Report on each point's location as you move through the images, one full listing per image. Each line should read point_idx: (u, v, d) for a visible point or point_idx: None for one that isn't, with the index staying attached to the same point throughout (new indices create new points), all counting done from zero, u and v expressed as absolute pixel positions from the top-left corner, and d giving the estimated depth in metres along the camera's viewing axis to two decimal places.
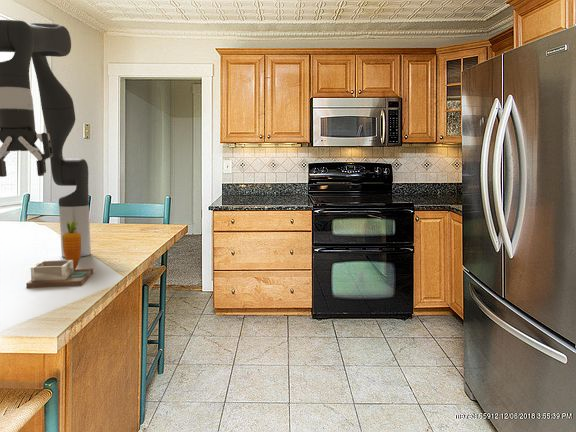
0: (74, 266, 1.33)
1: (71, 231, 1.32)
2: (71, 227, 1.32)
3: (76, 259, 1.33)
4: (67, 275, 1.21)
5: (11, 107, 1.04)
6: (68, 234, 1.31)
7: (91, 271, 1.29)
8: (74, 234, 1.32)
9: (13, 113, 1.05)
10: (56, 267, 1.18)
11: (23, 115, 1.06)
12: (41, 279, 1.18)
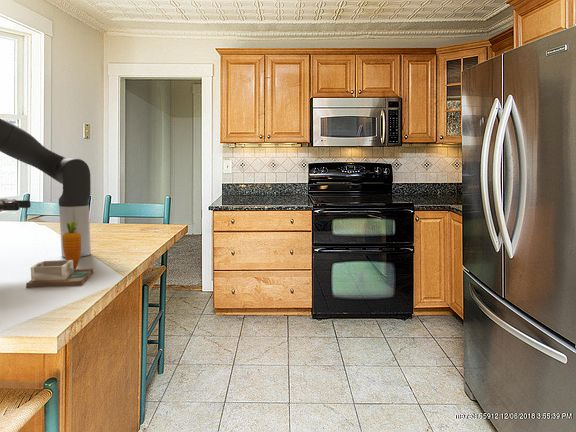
0: (74, 266, 1.33)
1: (71, 231, 1.32)
2: (71, 227, 1.32)
3: (76, 259, 1.33)
4: (67, 275, 1.21)
5: None
6: (68, 234, 1.31)
7: (91, 271, 1.29)
8: (74, 234, 1.32)
9: None
10: (56, 267, 1.18)
11: None
12: (41, 279, 1.18)
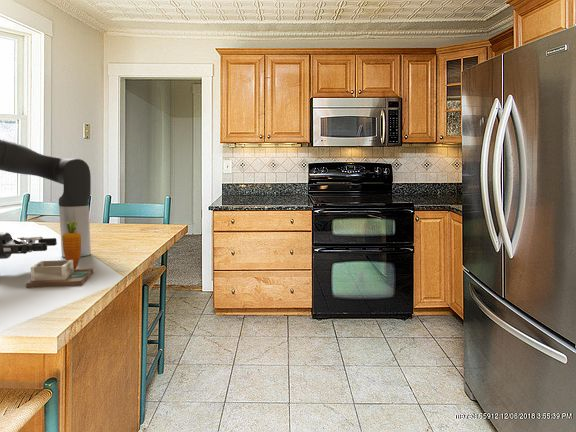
0: (74, 266, 1.33)
1: (71, 231, 1.32)
2: (71, 227, 1.32)
3: (76, 259, 1.33)
4: (67, 275, 1.21)
5: None
6: (68, 234, 1.31)
7: (91, 271, 1.29)
8: (74, 234, 1.32)
9: None
10: (56, 267, 1.18)
11: None
12: (41, 279, 1.18)
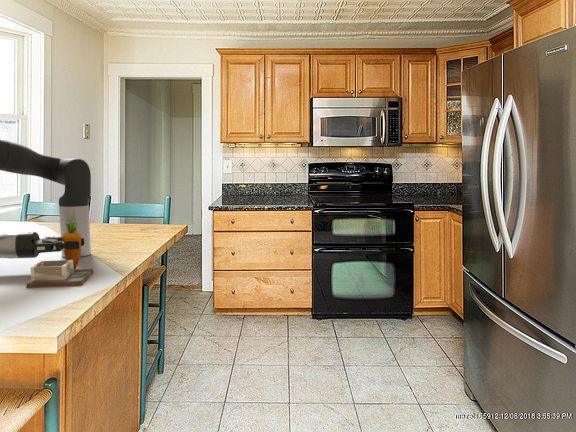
0: (74, 266, 1.33)
1: (71, 231, 1.32)
2: (71, 227, 1.32)
3: (76, 259, 1.33)
4: (67, 275, 1.21)
5: None
6: (68, 234, 1.31)
7: (91, 271, 1.29)
8: (74, 234, 1.32)
9: None
10: (56, 267, 1.18)
11: (23, 255, 1.29)
12: (41, 279, 1.18)
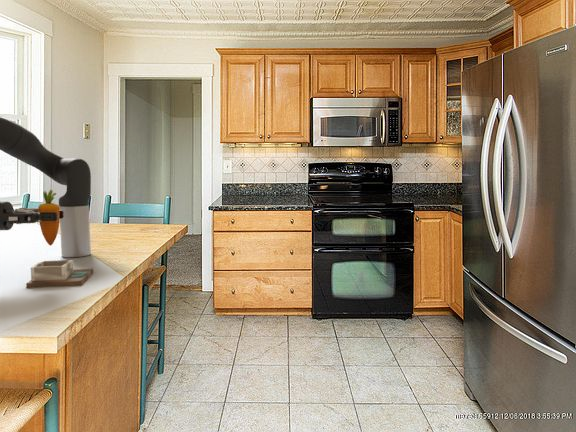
0: (51, 241, 1.20)
1: (48, 201, 1.19)
2: (48, 197, 1.19)
3: (53, 233, 1.20)
4: (67, 275, 1.21)
5: None
6: (45, 204, 1.18)
7: (91, 271, 1.29)
8: (51, 205, 1.19)
9: None
10: (56, 267, 1.18)
11: None
12: (41, 279, 1.18)
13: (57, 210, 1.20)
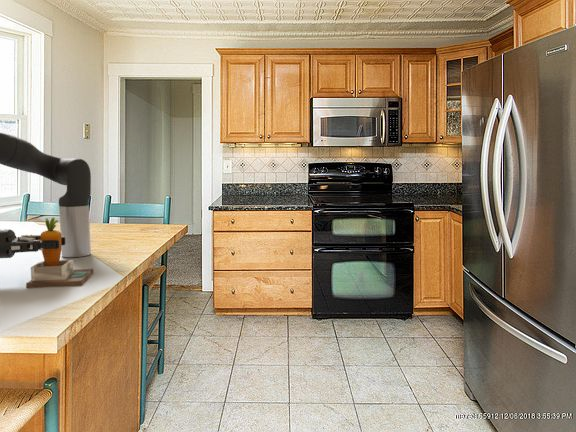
0: None
1: (50, 229, 1.20)
2: (50, 225, 1.20)
3: (55, 260, 1.21)
4: (67, 275, 1.21)
5: None
6: (47, 232, 1.19)
7: (91, 271, 1.29)
8: (53, 232, 1.19)
9: None
10: (56, 267, 1.18)
11: None
12: (41, 279, 1.18)
13: (59, 237, 1.21)
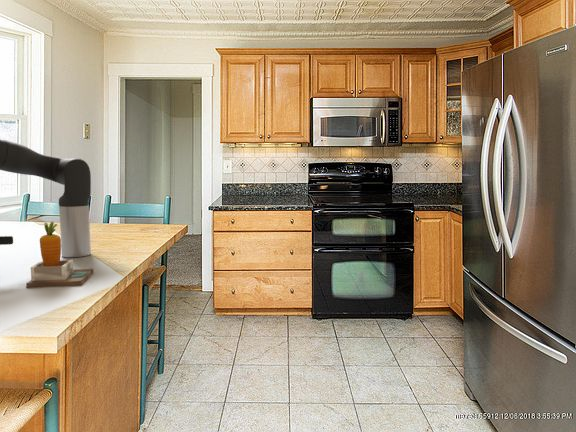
0: None
1: (49, 233, 1.20)
2: (49, 229, 1.20)
3: (55, 264, 1.21)
4: (67, 275, 1.21)
5: None
6: (46, 236, 1.19)
7: (91, 271, 1.29)
8: (53, 236, 1.20)
9: None
10: (56, 267, 1.18)
11: None
12: (41, 279, 1.18)
13: (58, 241, 1.21)
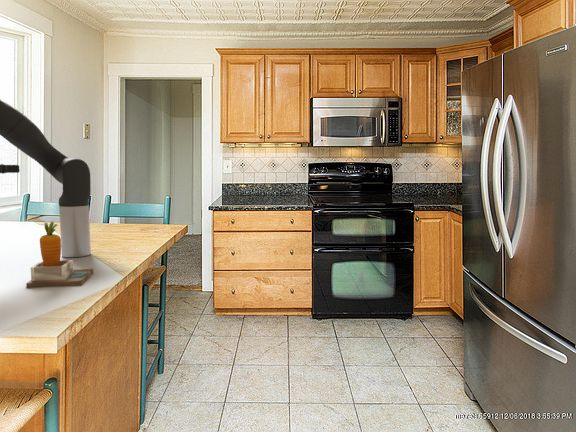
0: None
1: (49, 233, 1.20)
2: (49, 229, 1.20)
3: (55, 264, 1.21)
4: (67, 275, 1.21)
5: None
6: (46, 236, 1.19)
7: (91, 271, 1.29)
8: (53, 236, 1.20)
9: None
10: (56, 267, 1.18)
11: None
12: (41, 279, 1.18)
13: (58, 241, 1.21)
